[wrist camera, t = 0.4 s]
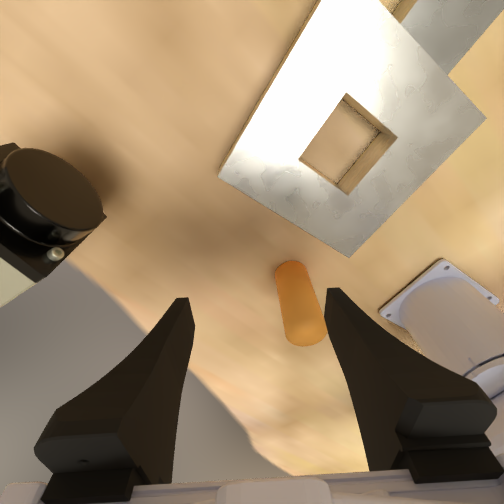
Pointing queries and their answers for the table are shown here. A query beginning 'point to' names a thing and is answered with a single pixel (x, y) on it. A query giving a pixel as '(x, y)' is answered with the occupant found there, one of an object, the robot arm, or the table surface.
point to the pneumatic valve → (40, 216)
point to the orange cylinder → (299, 305)
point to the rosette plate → (361, 112)
